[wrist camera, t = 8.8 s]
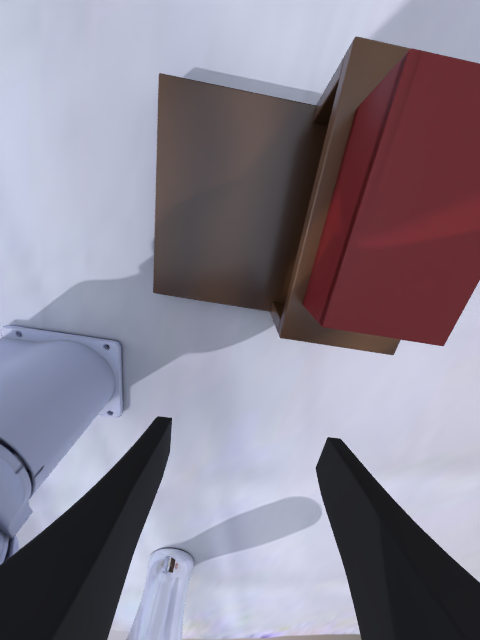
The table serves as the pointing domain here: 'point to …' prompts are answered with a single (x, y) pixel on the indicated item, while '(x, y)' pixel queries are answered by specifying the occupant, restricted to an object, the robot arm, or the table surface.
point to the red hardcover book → (405, 207)
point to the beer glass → (163, 596)
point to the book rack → (256, 191)
